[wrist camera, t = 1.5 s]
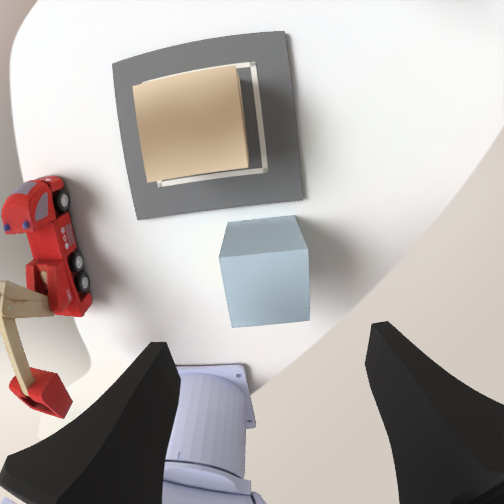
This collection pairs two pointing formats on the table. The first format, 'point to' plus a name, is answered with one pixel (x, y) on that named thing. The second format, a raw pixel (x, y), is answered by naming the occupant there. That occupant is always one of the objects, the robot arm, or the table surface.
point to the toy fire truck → (42, 284)
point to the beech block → (191, 124)
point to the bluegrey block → (265, 272)
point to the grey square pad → (256, 120)
